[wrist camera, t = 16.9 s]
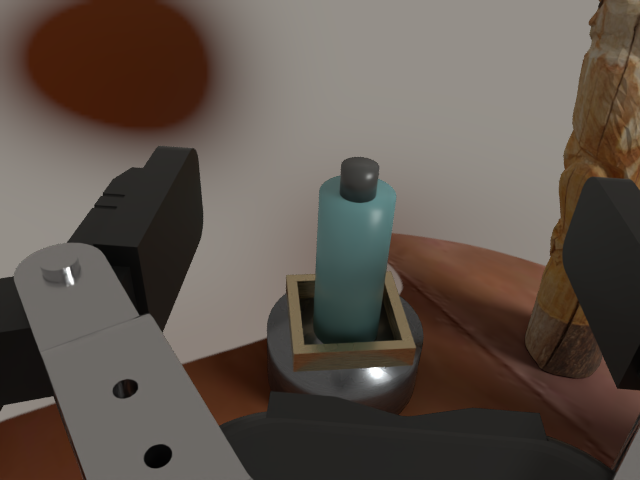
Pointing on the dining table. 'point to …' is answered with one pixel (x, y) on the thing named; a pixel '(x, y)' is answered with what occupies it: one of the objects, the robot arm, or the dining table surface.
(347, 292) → the bottle
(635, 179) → the sculpture
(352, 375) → the disc with square collar
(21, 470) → the dining table surface
